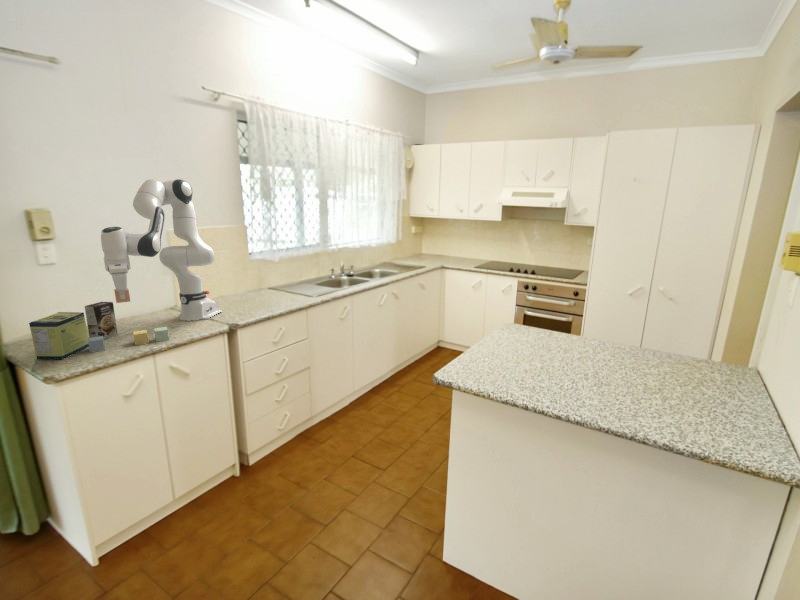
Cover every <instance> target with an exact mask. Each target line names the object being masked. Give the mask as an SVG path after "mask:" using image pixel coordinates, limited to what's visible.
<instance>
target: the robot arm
mask: <svg viewBox="0 0 800 600" xmlns="http://www.w3.org/2000/svg"><path fill="white" fill-rule="evenodd" d="M192 198H193V188H192V185H191V184H190V183H189V182H188V181H187V180H185V179H178V178H176V179H173V180H167V181H166V180H165V181H163V182H160V181H159V180H156V179H155V178H154V179H153V178H152V179H151V178H150V179H146V180H145V181H144V182H143V183H142V184H141V186H140V187H139V188H138V190H137V191H136V194H135V196H134V198H133V201H132V207H133V209H134V211H135V212H136V213H137V214H139V215H140V217H143V218H145V219H148V220H149V224H148V230H147V232H145V233H129V232H127V231H125V230H124V229H123V228H122V227H120V226H109V227H105V228H103V229H102V230H101V233H100V242H101V243H100V244H101V249H102V252H103V255H104V256H103V263H104V268H105V272H108V273H109V275H111V277H112V281H113V284H114V288H115V289H116V290H117V291H119V294H120V299H125V291H126V290H127V288H128V273H129V270H131V263H130V257H129V256H132V257H133V256H135V257H136V256H138V257H140V256H141V257H146V258H147V257H149V258H154V257H155V256H157V255H158V256H159V257H158V258H159V260H160V263H161V264H162V265H163V266H164V267H167V268H168V269H169V270H171V271H172V272H173V273H174V275H175V277H176V279H177V282H178V286H179V288H178V289H179V294H178V295H179V301H180V314H179V320H181V321H185V320H187V322H189V321H191V320H193V321H200V320H199V319H202V320H209V319H211V318H213V317H215V316H217V315H219V314H218V313H220V312H222V313H223V310H222V309H219V308H218V305H217V303H216V301H214V300H212V299H211V298H209V297H208V296H207V295H210V290H204V287H203V279H202V276H201V275H199V274H198V273H196V272H194V271H191V270H189V269H188V268H190V267H203V266H208V265H212V264H213V263H214V261H215V258H216V256H215V254H216V253H215V251H214V250H213V248H212V247H211V246H209V245H208V244H206V242H204V241H203V240H202V238H201V236H200V235H199V231H198V224H197V222H198V221H197V213H196V210H195V206H194V205H195V204H194V203H193V202H192ZM166 205H167V206H168V205H170V206H171V207H172V208H171V209H172V224H173V226H172V227H173V234H174V235H175V237H177V239H180V240H183V241H185V242H187V243H188V245H171V246H167V247H162V240H161V239H162V234H163V231H164V230H163V228H164V224H165V223H164V222H165V211H164V209H163V208H162V206H166ZM161 248H162V249H161ZM216 314H217V315H216ZM220 314H221V313H220ZM214 315H215V316H214ZM212 316H213V317H212ZM210 317H211V318H210Z"/></svg>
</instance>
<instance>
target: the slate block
mask: <svg viewBox="0 0 800 600" xmlns="http://www.w3.org/2000/svg"><path fill="white" fill-rule="evenodd" d="M88 344H89V347H88V350H89V353H94V352H93V351H96V352H100V351H99V350H103V351H105V350H106V348H105V346H106V345H105V340H104V339H103V336H99V337H92V338H90V337H88Z"/></svg>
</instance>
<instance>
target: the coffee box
mask: <svg viewBox="0 0 800 600" xmlns="http://www.w3.org/2000/svg"><path fill="white" fill-rule="evenodd" d="M84 311H85V316H86V317H85V320H86V323H87V324H86V326H87V332H88V338H92V337H99V336H103V339H105V340H108V339H110V337H111V338H113V337H116V336H118V335H119V333H118V332H119V331H118V327H117V326H118V325H117V320H116V313H115V307H114V302H113V301H100V302H99V301H98V302H95V303H91V304H87V305H84ZM107 338H108V339H107Z"/></svg>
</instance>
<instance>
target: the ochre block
mask: <svg viewBox="0 0 800 600" xmlns="http://www.w3.org/2000/svg"><path fill="white" fill-rule="evenodd" d="M132 334H133V340H134V345H135V346H139V344H140V345H144V343H146V344H149V336H148V331H147V329H143V330H134V331H133V333H132Z"/></svg>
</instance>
